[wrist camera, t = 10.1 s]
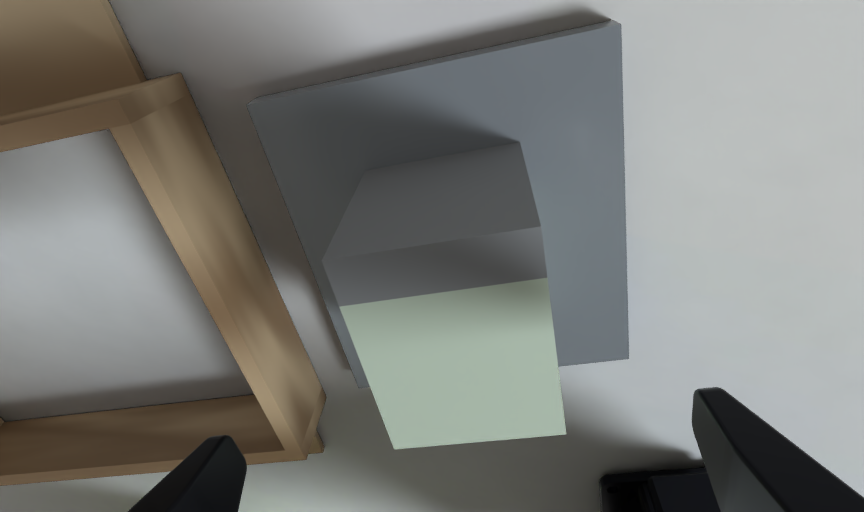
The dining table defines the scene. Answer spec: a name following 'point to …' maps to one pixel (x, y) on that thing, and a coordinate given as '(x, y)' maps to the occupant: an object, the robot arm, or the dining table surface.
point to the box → (450, 299)
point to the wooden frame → (188, 232)
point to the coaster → (472, 130)
